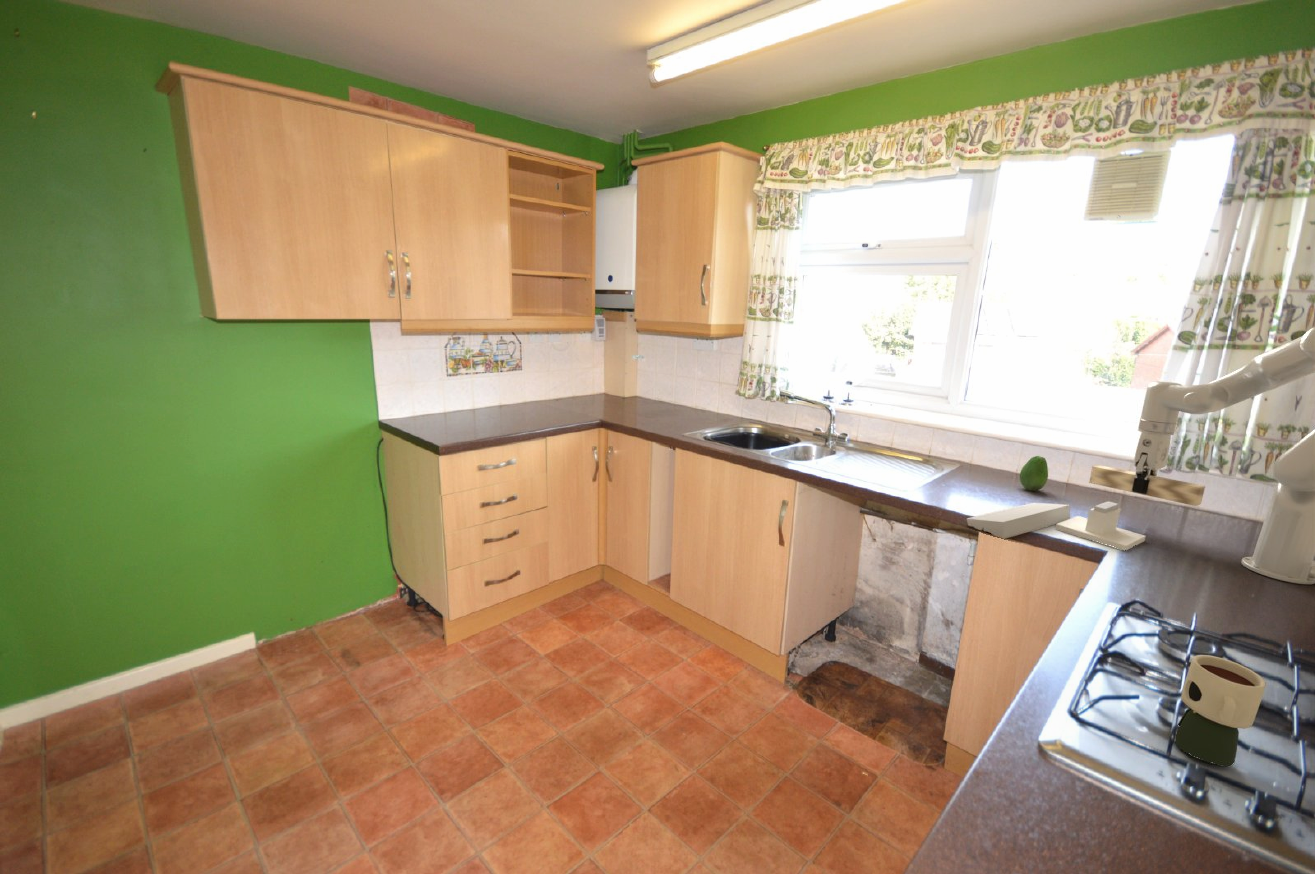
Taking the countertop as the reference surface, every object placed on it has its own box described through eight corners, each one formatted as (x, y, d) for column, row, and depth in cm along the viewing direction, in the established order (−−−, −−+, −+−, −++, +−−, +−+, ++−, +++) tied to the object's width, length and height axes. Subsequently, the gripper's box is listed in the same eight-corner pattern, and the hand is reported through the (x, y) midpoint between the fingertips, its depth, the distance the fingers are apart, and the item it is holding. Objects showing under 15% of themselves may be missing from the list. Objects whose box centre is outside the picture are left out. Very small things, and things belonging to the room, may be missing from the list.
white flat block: (967, 535, 159) (1004, 540, 150) (966, 518, 159) (1003, 522, 150) (1034, 518, 176) (1070, 521, 167) (1033, 502, 176) (1069, 504, 167)
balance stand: (1144, 541, 155) (1152, 510, 152) (1124, 551, 147) (1133, 519, 145) (1076, 520, 167) (1083, 492, 165) (1055, 528, 160) (1062, 499, 158)
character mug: (1163, 719, 85) (1187, 641, 82) (1229, 742, 81) (1257, 662, 78) (1170, 763, 76) (1198, 678, 73) (1245, 792, 72) (1277, 704, 69)
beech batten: (1201, 503, 152) (1205, 485, 151) (1196, 506, 150) (1200, 487, 149) (1094, 481, 171) (1097, 464, 170) (1089, 482, 169) (1092, 466, 168)
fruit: (1011, 486, 197) (1018, 453, 194) (1028, 485, 200) (1036, 452, 197) (1032, 494, 190) (1040, 459, 187) (1050, 493, 192) (1058, 458, 189)
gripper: (1163, 432, 149) (1148, 499, 153) (1184, 427, 158) (1169, 491, 162) (1128, 427, 155) (1114, 492, 159) (1150, 422, 164) (1136, 484, 168)
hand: (1142, 490), depth 160 cm, fingers closed on beech batten, 4 cm apart
